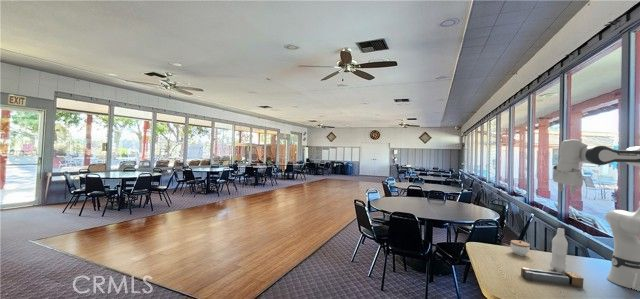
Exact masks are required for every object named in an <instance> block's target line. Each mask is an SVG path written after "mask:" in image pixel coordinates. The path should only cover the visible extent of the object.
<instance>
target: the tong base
mask: <svg viewBox="0 0 640 299" xmlns="http://www.w3.org/2000/svg"><path fill="white" fill-rule="evenodd" d="M563 273H566V274H567V276H560V275H552V274H545V273H537V272H531V271H524V277H523V279H524V280H526V281H531V282H532V281H533V282H541V283H548V284H552V285H553V284H555V285H563V286H569V287H570V286H571V287H575V288H581V289H583V288H584V281H585V280H584V277H582V276H581V275H579V274H578V273H576V272H574V271H567V270H565V271H564V272H563Z"/></svg>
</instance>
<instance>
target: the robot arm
mask: <svg viewBox="0 0 640 299" xmlns="http://www.w3.org/2000/svg"><path fill="white" fill-rule="evenodd" d="M558 155H559V160H558V163H557V164H555V165H553V167H552V170H553V172H552V180H553V182H554V183H557V187H558V191H559V192H564V191H565V188H564V185H568V186H570V190H568V193H569V194H570V195H575V193H576V190H577V188H582V186H583V184H584V177H583V176H584V175H583V173H582V171H581V170H580V163H582V164H591V165H597V166H606V165H609V164H612V163H625V164H627V165H628V166H634V167H640V146H638V145H637V146H630V147H627V148H626V149H615V148H611V147H608V146H606V145H588V144H586V143H583V142H582V141H580V139H565V140H562V141H561V143H560V146H559V151H558ZM604 217H605V221H606V222H607V224H608V225H609V227H610V229H611V233H612V237H613V253H612V254H611V267H610V270H609V274H608V275H607V277H606V279H607V280H608V281H610V282H611V283H613V284H616V285H617V286H621V287H625V288H628V289H631V288H632V290H634V289H635V290H634V291H636V290H637V291H636V292H639V291H640V238H639V237H640V200H639V201H638V207H637V209H636V210H635V211H633V212H631V211H627V210H624V209H611V210H608V211H607V213H606V214H605V216H604Z"/></svg>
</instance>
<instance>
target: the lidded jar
mask: <svg viewBox="0 0 640 299" xmlns="http://www.w3.org/2000/svg"><path fill="white" fill-rule="evenodd" d="M530 246H531V244H530V243H528V242H526V241H523V240H516V239H512V240H510V249H511V251H512V253H513V254H515V255H516V254H517V256H519V255H520V256H521V257H525V256H527V255H528V253H529V252H530Z"/></svg>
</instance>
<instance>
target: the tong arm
mask: <svg viewBox="0 0 640 299" xmlns="http://www.w3.org/2000/svg"><path fill="white" fill-rule="evenodd" d="M520 270H521V271H520V275H521V276H522V277H523V278H524V271H531V272H537V273H545V274H552V275H560V276H567V274H566V273H564V272H557V271H553V270H552V271H550V270H544V269H536V268H535V269H534V268H528V267H524V266H523V267H522V266H521V269H520Z"/></svg>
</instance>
